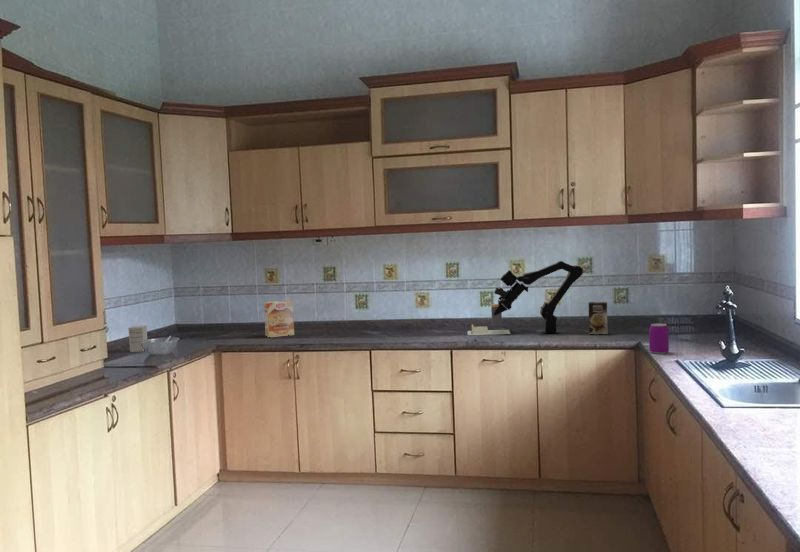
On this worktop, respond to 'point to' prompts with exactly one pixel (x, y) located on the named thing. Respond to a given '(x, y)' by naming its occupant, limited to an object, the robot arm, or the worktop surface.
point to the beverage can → (659, 338)
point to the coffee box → (597, 317)
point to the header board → (486, 331)
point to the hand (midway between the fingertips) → (493, 314)
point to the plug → (496, 316)
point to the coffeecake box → (279, 318)
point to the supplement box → (137, 337)
